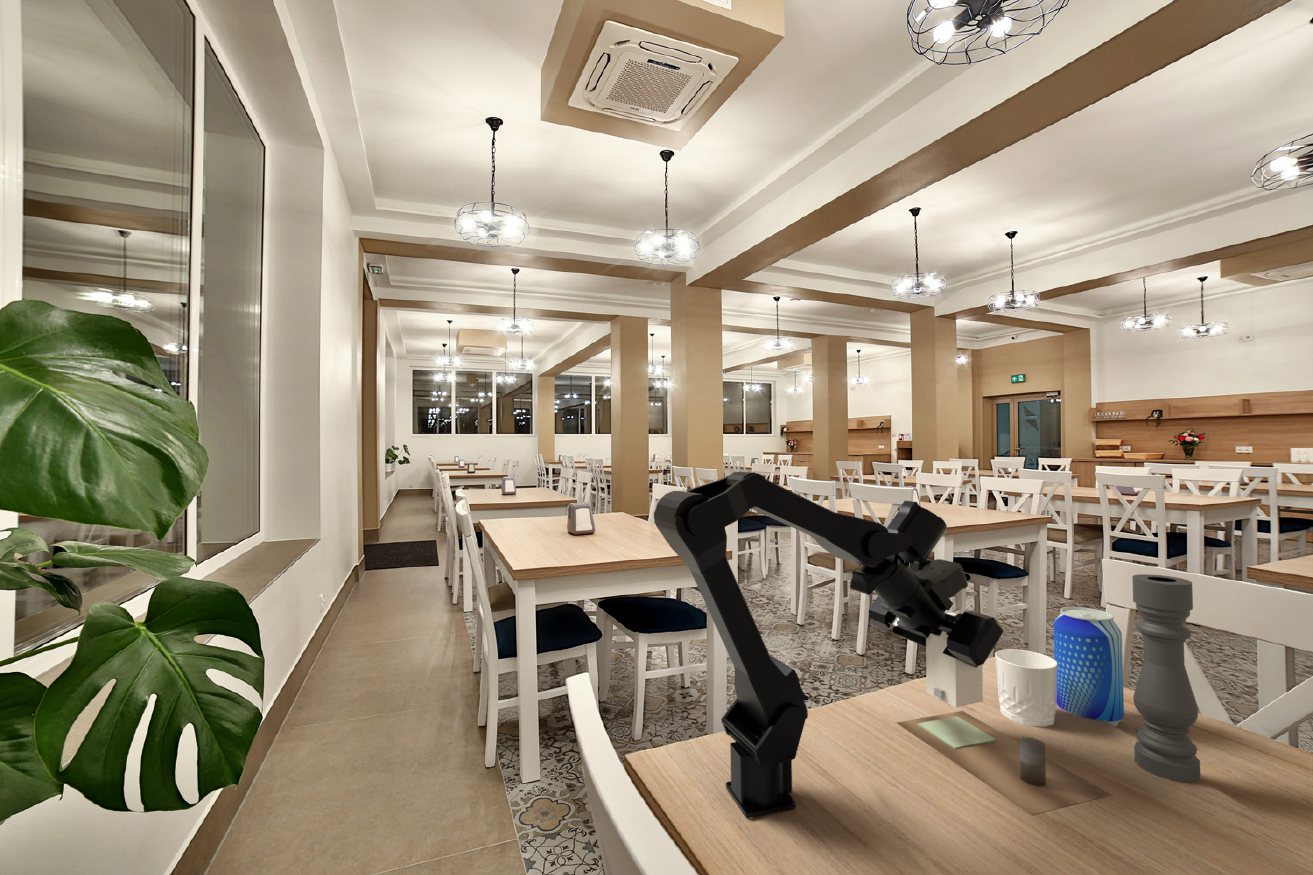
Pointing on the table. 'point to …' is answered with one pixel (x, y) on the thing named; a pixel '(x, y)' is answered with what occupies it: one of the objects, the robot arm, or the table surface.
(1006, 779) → the board
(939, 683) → the tall white prism
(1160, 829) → the table surface
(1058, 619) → the beer can
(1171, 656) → the candle holder
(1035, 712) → the white cup
